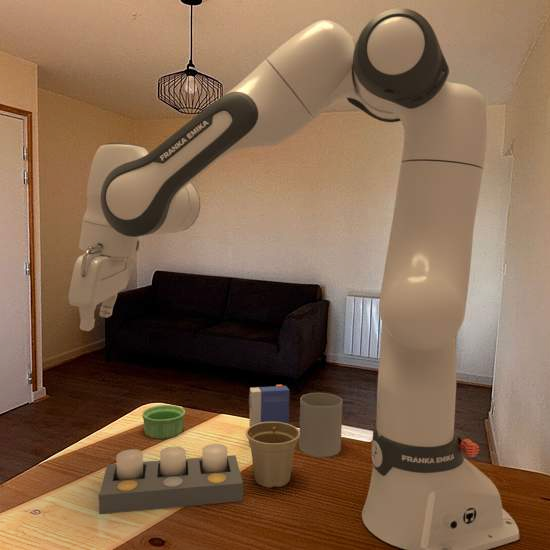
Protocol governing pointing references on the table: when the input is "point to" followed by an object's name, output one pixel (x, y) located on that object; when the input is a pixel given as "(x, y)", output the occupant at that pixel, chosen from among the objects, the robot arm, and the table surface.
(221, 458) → the button
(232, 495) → the board
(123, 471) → the button
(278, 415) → the walkman
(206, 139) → the robot arm
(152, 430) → the ramekin
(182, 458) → the button
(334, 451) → the cup
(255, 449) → the flower pot
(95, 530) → the table surface
